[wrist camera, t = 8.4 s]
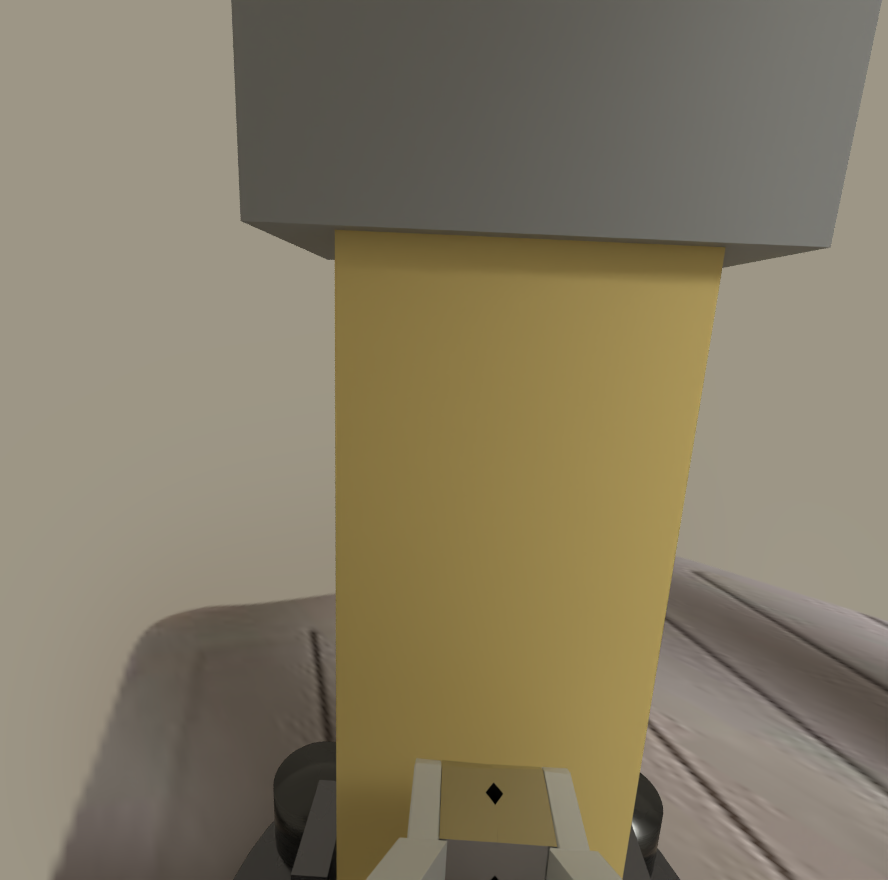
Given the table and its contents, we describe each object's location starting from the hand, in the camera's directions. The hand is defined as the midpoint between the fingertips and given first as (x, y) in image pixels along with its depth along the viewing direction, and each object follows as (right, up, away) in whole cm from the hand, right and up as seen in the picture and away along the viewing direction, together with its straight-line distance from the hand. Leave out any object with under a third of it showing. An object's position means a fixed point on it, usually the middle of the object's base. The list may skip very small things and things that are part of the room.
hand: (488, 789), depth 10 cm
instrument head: (0, -7, +7) cm, 10 cm away
